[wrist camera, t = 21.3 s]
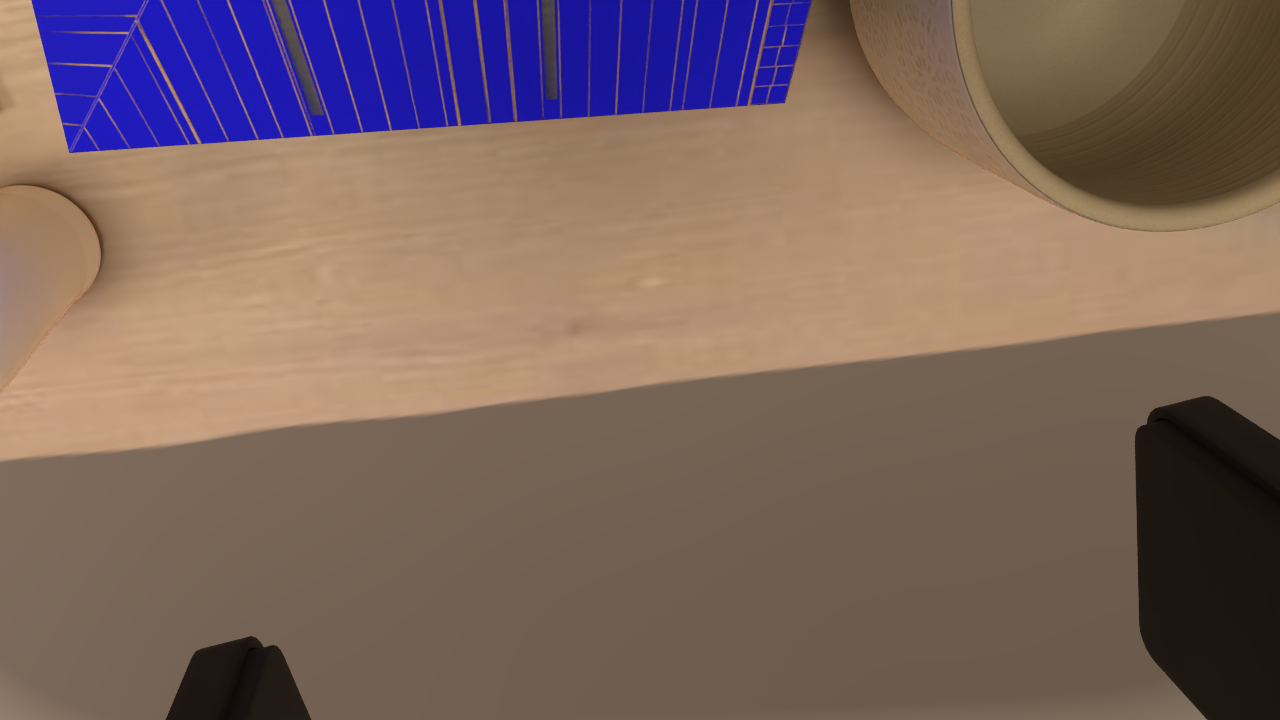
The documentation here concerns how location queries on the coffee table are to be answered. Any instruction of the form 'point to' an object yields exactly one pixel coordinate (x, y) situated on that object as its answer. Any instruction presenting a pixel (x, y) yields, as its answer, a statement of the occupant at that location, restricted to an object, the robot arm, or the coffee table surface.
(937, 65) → the planter
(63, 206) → the drinking glass
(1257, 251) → the coffee table surface
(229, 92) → the house
